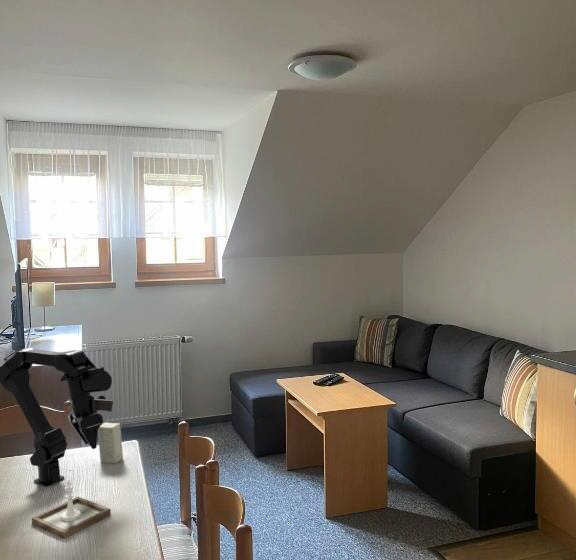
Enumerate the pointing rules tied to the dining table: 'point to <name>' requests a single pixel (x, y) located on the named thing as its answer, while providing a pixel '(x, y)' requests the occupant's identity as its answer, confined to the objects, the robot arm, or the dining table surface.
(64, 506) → the walnut tray
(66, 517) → the chess piece
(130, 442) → the dining table surface
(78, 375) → the robot arm
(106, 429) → the skincare box
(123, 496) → the dining table surface
